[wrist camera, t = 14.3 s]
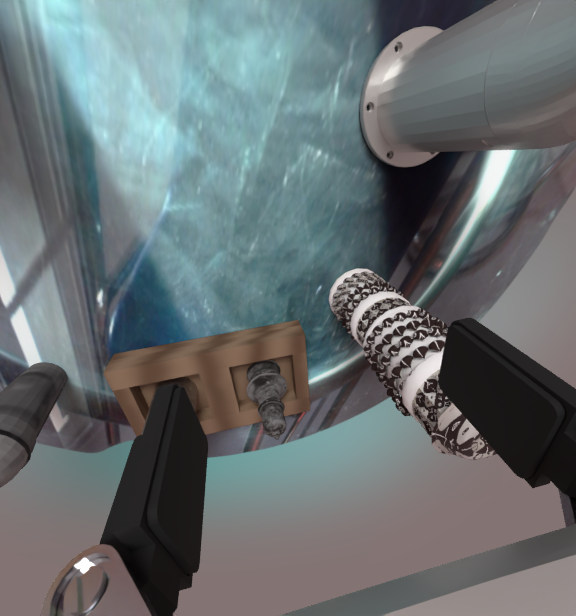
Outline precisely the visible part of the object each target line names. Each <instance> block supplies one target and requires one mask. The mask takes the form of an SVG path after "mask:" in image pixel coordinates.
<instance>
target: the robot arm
mask: <svg viewBox="0 0 576 616" xmlns="http://www.w3.org/2000/svg"><path fill="white" fill-rule="evenodd" d="M394 47H395V48H394ZM395 49H396V52H395ZM367 106H368V108H369V109H368V111H367V108H366V107H367ZM360 121H361V128H362V132H363V136H364V138H365V140H366V143H367V145H368V147H369V148H370V150H371V151H372V152H373V154H374V155H375V156H376V157H377V158H378V159H380V160H381V161H382V162H384V163H386V164H388V165H391V166H395V167H413V166H417V165H420V164H423V163H425V162H426V161H428V160H430V159H432V158H433V157H434V156H436V155H437V154H438V153H439V152H450V151H487V150H524V149H543V148H551V147H556V146H561V145H565V144H568V143H571V142H573V141H576V0H497V1H495V2H493V3H492V4H490V5H488V6H486V7H485V8H483V9H481V10H480V11H478V12H476V13H474V14H473V15H471V16H469V17H467V18H466V19H464V20H462V21H460V22H459V23H457V24H455V25H453V26H451V27H450V28H448V29H446V30H441V29H439V28H437V27H429V26H423V27H417V28H413V29H411V30H409V31H406V32H404V33H402V34H401V35H399V36H398V37H396V38H395V39H393V40H392V41H391V42H390V43H389V44H388V45H387V46H386V47H385V48H384V49H383V50H382V51H381V53H380V54H379V55H378V56H377V58H376V59H375V61H374V63H373V64H372V66H371V68H370V70H369V72H368V74H367V77H366V80H365V83H364V85H363V90H362V95H361V101H360ZM387 153H388V156H387ZM438 384H439V387H440V389H441V390H442V392H443V393H444V394H445V395H446V396H447V397H448V398H449V400H450V401H451V402H452V403H453V404H454V405H455V406H456V408H457V409H458V410H459V411H460V412H461V413H462V414H463V415H464V417H465V418H466V419H467V420H468V421H469V422H470V423H471V424H472V426H473V427H474V428H475V429H476V430H477V431H478V432H479V433H480V435H481V436H482V437H483V438H484V439H485V440H486V441H487V443H488V444H489V445H490V446H491V447H492V448H493V449H494V450H495V452H496V453H497V454H498V455H499V456H500V457H501V458H502V459H503V460H504V462H505V463H506V464H507V465H508V466H509V467H510V468H511V470H512V471H513V472H514V473H515V474H516V475H517V476H519V477H520V478H524V479H525V480H526V481H527V482H528V483H529V484H530V485H531V487H532V488H535V487H538V486H542V485H546V484H548V483H550V481H552V482H553V483H554V485H555V486H556V487H557V488H558V489H559V493H560V499H561V504H562V509H563V514H564V519H565V524H566V528H563V529H560V530H556V531H552V532H549V533H546V534H543V535H539V536H536V537H533V538H529V539H526V540H522V541H519V542H516V543H513V544H510V545H506V546H503V547H499V548H496V549H493V550H489V551H486V552H483V553H480V554H476V555H473V556H470V557H467V558H464V559H460V560H457V561H454V562H450V563H447V564H444V565H440V566H437V567H434V568H431V569H427V570H424V571H421V572H418V573H414V574H411V575H408V576H405V577H402V578H398V579H395V580H392V581H388V582H385V583H382V584H379V585H375V586H372V587H369V588H366V589H363V590H360V591H356V592H353V593H350V594H347V595H344V596H340V597H337V598H334V599H331V600H328V601H324V602H321V603H318V604H315V605H312V606H308V607H305V608H302V609H299V610H296V611H292V612H289V613H286V614H283V615H280V616H576V389H575V388H574V387H572V386H571V385H569V384H568V383H566V382H564V381H563V380H562V379H560V378H559V377H557V376H556V375H555V374H553V373H552V372H550V371H549V370H547V369H546V368H544V367H543V366H541V365H540V364H538V363H537V362H536V361H534V360H533V359H531V358H530V357H528V356H527V355H525V354H524V353H523V352H521V351H520V350H518V349H517V348H515V347H513V346H512V345H511V344H509V343H508V342H506V341H505V340H504V339H502V338H501V337H499V336H498V335H496V334H495V333H493V332H492V331H490V330H489V329H488V328H486V327H485V326H483V325H482V324H480V323H479V322H477V321H476V320H474V319H472V318H466V319H462V320H457V321H454V322H452V323H451V326H450V327H448V330H447V334H446V340H445V345H444V351H443V356H442V362H441V367H440V373H439V378H438ZM207 455H208V442H207V438H206V435H205V433H204V431H203V428H202V426H201V424H200V422H199V419H198V417H197V415H196V413H195V410H194V408H193V406H192V404H191V401H190V399H189V397H188V395H187V392H186V390H185V388H184V387H180V388H179V386H178V385H177V384H173V385H168V386H164V387H160V388H158V389H157V390H156V392H155V395H154V399H153V402H152V405H151V409H150V412H149V415H148V418H147V422H146V425H145V428H144V431H143V434H142V435H139V436H137V437H136V438H135V440H134V442H133V444H132V447H131V450H130V453H129V457H128V459H127V462H126V466H125V468H124V472H123V475H122V478H121V481H120V484H119V487H118V490H117V493H116V496H115V499H114V502H113V505H112V508H111V511H110V514H109V517H108V520H107V523H106V526H105V529H104V532H103V535H102V538H101V541H100V544H99V545H95V546H92V547H90V548H88V549H86V550H84V551H82V552H81V553H80V554H79V555H77V556H76V557H75V558H73V559H72V560H71V561H70V562H69V563H68V564H67V565H66V567H65V568H64V569H63V570H62V571H61V572H60V573H59V575H58V576H57V578H56V579H55V581H54V582H53V584H52V585H51V587H50V589H49V591H48V593H47V595H46V598H45V600H44V603H43V607H42V611H41V615H40V616H177V615H176V614H175V610H176V609H177V605H178V596H179V591H180V590H183V589H187V588H190V587H191V586H192V576H193V573H195V572H197V571H198V569H199V563H200V551H201V537H202V524H203V523H202V522H203V510H204V496H205V482H206V468H207Z"/></svg>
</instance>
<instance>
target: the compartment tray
mask: <svg viewBox="0 0 576 616" xmlns="http://www.w3.org/2000/svg"><path fill="white" fill-rule="evenodd" d="M268 359H270V360H273V361H275V362H277V363H278V365H279V366H280V370H281V372H280V375H281V376H282V377H284V378H285V380H286V382H287V390H286V392H285V394H284V395H283V396H282V397H281V398H280V399H281V401H282V402H283V403H284V406H285V410H284V412H283V413H284V416H288V415H293V414H297V413H301V412H306V411H310V400H309V386H308V371H307V357H306V343H305V334H304V331H303V329H302V327H301V325H300V323H299V321H298V320H296V321H290V322H285V323H279V324H274V325H268V326H263V327H258V328H252V329H247V330H241V331H236V332H231V333H225V334H220V335H214V336H209V337H204V338H198V339H193V340H187V341H182V342H176V343H171V344H166V345H160V346H155V347H149V348H144V349H139V350H133V351H128V352H122V353H117V354H114V355H113V357H112V358H111V360H110V362H109V364H108V366H107V368H106V369H105V371H104V373H103V374H104V375H105V377H106V379H107V381H108V383H109V385H110V387H111V389H112V391H113V392H114V394H115V396H116V398H117V400H118V402H119V404H120V406H121V408H122V410H123V411H124V413H125V415H126V417H127V419H128V421H129V423H130V425H131V427H132V428H133V430H134V432H135V434H136V436H139V435H142V432H143V428H144V425H145V421H146V418H147V414H148V411H149V407H150V404H151V400H152V397H153V393H154V390H155V387H156V385H157V384H158V383H159V382H160V381H164V380H169V379H174V378H179V377H186V378H189V379H190V380H192V381H193V382H194V383H195V384H196V386H197V389H198V392H197V402H196V412H195V413H196V415H197V417H198V419H199V422H200V424H201V426H202V428H203V431H204V433H205V435H206V434H211V433H215V432H219V431H224V430H228V429H232V428H237V427H241V426H245V425H250V424H254V423H258V422H262V417H260V416H259V414H258V407H259V404H258V403H255V402H253V401H252V400H250V399H249V397H248V396H247V392H246V391H247V386H248V383H249V381H248V379H247V370H248V368H249V367H250V365H251V364H253V363H254V362H258V361H263V360H268Z"/></svg>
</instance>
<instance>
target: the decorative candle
mask: <svg viewBox="0 0 576 616" xmlns="http://www.w3.org/2000/svg"><path fill="white" fill-rule="evenodd" d="M329 304H330V308H331V310H332V311H333V314H334V315H336V316H337V320H339V321H341V320H343V322H342V326H343V327H345V328H346V331H347V333H349V334H351V338H352V339H353V340H357V342H358V343H359V344H360V345H361V346H362V347H363V349H364V355H365V357H366V358H365V359H366V360H368V361H369V362H370V363H371V364H372V367H371V369H372V371H374V372H376V375H377V376H378V377H379V378H378V379H379V381H380V382H381V383H384V386H385V387H386V388H388V390H387V395H388V396H390V397H392V400H393V401H394V402H395V403H396V408H397V409H398V410H399V411H401V412H402V414H403V415H404V416H410V415H412V416H413V417H414V418H415V419H416V421H417V422H419V423H420V424H421V425H422V426H423V428H424V429H425V431H426V432H427V433H428V434H429V436H430V437H431V438H432V445H433V446H434V447H435V448H436V450H437V451H438V452H440V453H444V454H448V455H457V456H459V457H462V458H466V459H470V460H477V459H484V458H487V457H490V456H492V455H495V454H497V453H496V452H495V450H494V449H493V448H492V447H491V446H490V445H489V444H488V443H487V441H486V440H485V439H484V438H483V437H482V436H481V435H480V433H479V432H478V431H477V430H476V429H475V428H474V427H473V426H472V424H471V423H470V422H469V421H468V420H467V419H466V418H465V417H464V415H463V414H462V413H461V412H460V411H459V410H458V409H457V408H456V406H455V405H454V404H453V403H452V402H451V401H450V400H449V398H448V397H447V396H446V395H445V394H444V393H443V392H442V390H441V389H440V387H439V384H438V378H439V373H440V367H441V362H442V356H443V351H444V345H445V340H446V334H447V330H448V327H447V325H446V324H445V323H444V322H443V321H440V320H439V318H437V317H432V316H431V314H430V313H429V312H426V311H424V310H423V309H420V308H419V307H417V306H411V305H410V303H409V301H407V300H406V299H405V298H403V294H402V293H401V292H397V290H396V289H395V288H394V287H391V286H390V284H389V283H388V282H387V281H384V279H383V278H381V277H379V276H378V275H377V274H375V273H374V272H372V271H370V270H368V269H358V268H357V269H354V270H351V271H348V272H346V273H344V274H343V275H342V276H340V277H339V278H338V279H337V280H336V281H335V283H334V285H333V286H332V288H331V290H330V295H329ZM394 390H397V391H398V392H397V393H396V394H395V391H394ZM399 393H400V394H401V397H400V395H399ZM404 405H405V406H404Z"/></svg>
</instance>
